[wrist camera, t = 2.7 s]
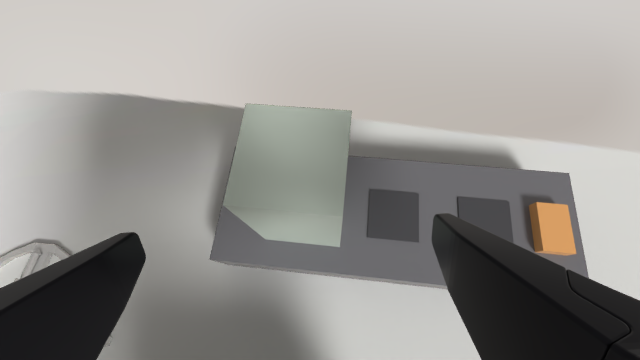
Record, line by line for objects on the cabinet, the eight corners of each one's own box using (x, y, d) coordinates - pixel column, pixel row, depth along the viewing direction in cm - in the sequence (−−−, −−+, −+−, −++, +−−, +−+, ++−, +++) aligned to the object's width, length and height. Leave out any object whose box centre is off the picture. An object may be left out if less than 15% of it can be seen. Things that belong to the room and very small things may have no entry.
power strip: (537, 189, 21) (577, 168, 17) (553, 301, 18) (604, 302, 15) (247, 165, 22) (231, 141, 19) (227, 264, 20) (204, 257, 16)
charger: (339, 252, 19) (342, 216, 10) (273, 246, 20) (222, 205, 11) (344, 190, 21) (351, 110, 12) (283, 184, 21) (245, 103, 12)
